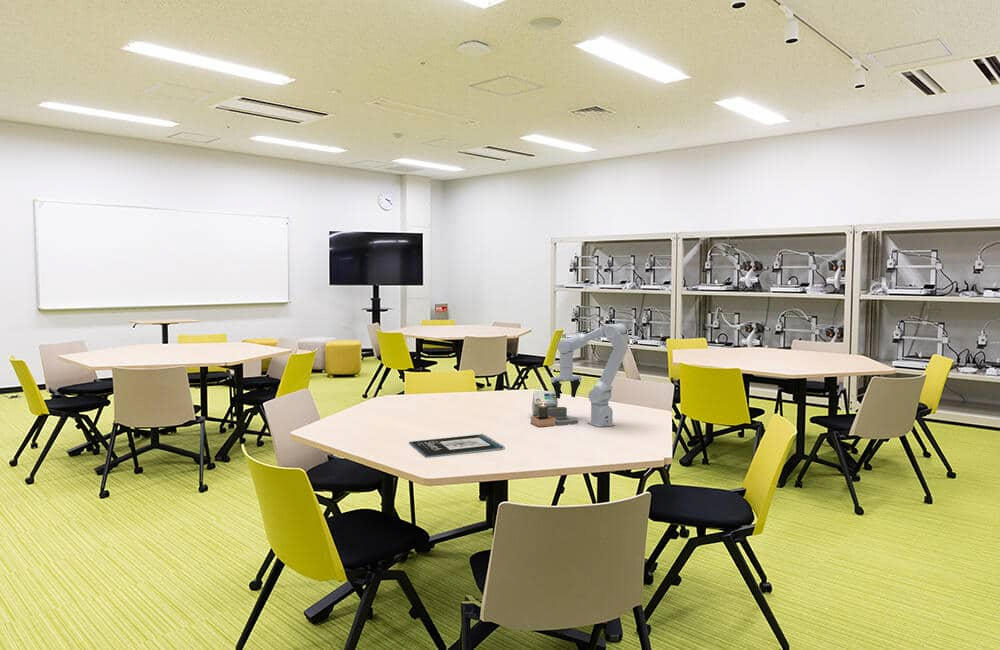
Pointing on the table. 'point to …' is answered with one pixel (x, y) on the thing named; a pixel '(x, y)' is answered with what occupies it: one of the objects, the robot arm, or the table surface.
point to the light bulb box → (543, 400)
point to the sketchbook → (456, 445)
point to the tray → (543, 421)
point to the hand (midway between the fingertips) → (565, 397)
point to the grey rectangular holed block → (561, 416)
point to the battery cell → (542, 411)
